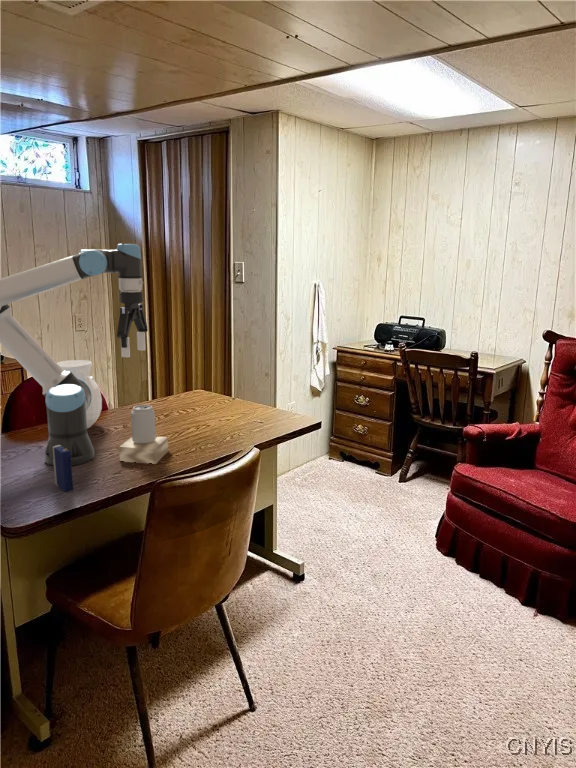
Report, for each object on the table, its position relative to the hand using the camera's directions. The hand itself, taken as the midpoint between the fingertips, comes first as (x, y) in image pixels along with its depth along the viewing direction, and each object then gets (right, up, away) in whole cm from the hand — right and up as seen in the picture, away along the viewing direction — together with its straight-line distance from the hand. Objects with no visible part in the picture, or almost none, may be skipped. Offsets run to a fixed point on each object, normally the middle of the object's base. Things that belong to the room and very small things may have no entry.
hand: (134, 353), depth 195 cm
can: (+6, -30, -8) cm, 31 cm away
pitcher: (-28, -27, +23) cm, 45 cm away
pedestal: (+6, -34, -7) cm, 36 cm away
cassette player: (-11, -40, -33) cm, 53 cm away
